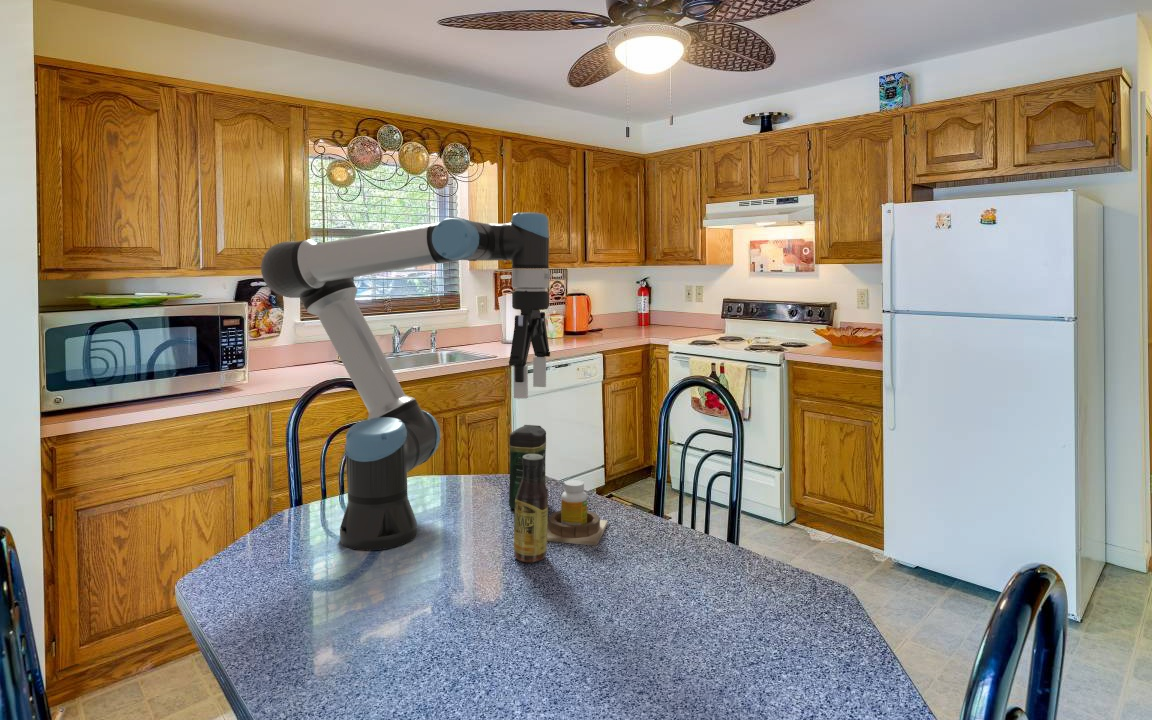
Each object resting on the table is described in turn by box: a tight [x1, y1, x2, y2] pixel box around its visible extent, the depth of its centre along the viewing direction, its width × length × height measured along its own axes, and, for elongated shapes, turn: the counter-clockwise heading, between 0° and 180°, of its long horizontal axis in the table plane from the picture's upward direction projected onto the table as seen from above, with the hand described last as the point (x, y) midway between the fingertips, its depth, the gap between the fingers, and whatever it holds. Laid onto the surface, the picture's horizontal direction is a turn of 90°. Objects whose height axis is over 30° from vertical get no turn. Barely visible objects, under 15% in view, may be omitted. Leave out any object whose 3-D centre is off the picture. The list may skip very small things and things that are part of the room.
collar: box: [547, 510, 609, 546], centre depth 143 cm, size 12×12×3 cm
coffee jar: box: [508, 424, 547, 510], centre depth 158 cm, size 10×8×19 cm
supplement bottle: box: [560, 479, 588, 525], centre depth 142 cm, size 5×5×10 cm
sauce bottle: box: [513, 454, 549, 564], centre depth 129 cm, size 7×6×20 cm
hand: (530, 392), depth 143 cm, fingers open, 13 cm apart
